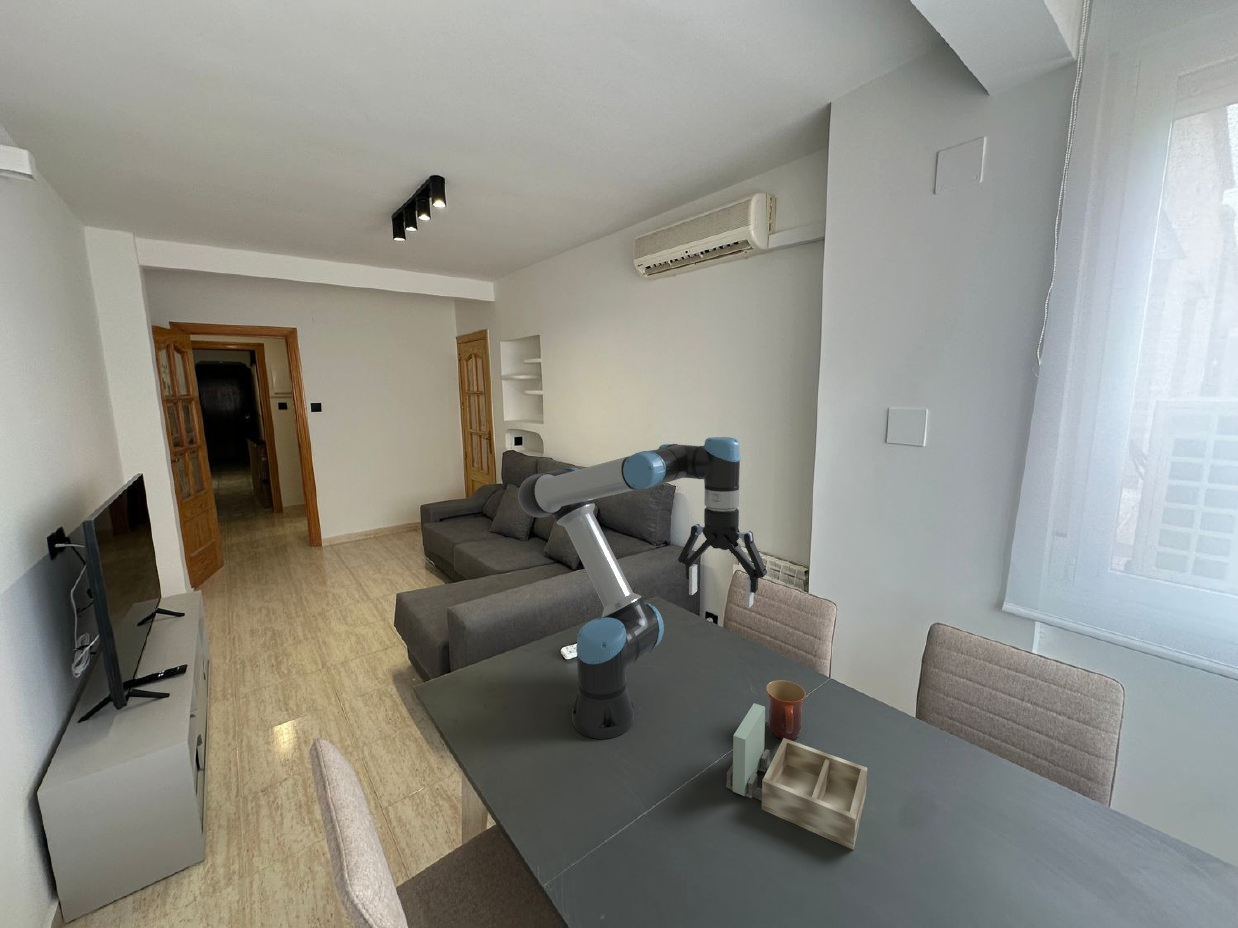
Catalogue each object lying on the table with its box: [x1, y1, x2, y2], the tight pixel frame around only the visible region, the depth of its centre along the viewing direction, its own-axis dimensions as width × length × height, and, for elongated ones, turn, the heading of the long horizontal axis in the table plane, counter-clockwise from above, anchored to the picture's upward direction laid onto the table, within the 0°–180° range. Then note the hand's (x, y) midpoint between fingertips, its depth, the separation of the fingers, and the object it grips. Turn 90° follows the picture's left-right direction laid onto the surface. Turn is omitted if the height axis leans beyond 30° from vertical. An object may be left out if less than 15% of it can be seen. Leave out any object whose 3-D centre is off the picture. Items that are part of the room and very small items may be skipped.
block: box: [732, 703, 766, 797], centre depth 103 cm, size 3×12×12 cm, turn 147°
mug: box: [765, 679, 807, 741], centre depth 115 cm, size 12×9×10 cm
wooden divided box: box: [726, 738, 868, 851], centre depth 99 cm, size 24×14×6 cm, turn 56°
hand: (720, 599), depth 115 cm, fingers open, 13 cm apart
